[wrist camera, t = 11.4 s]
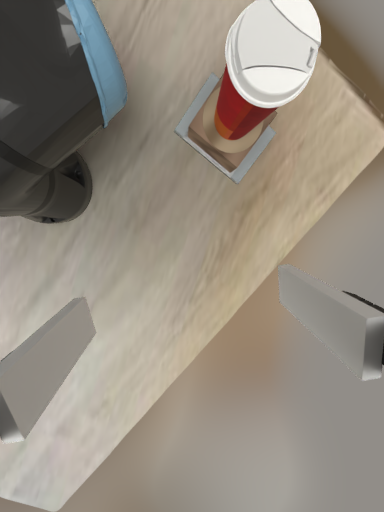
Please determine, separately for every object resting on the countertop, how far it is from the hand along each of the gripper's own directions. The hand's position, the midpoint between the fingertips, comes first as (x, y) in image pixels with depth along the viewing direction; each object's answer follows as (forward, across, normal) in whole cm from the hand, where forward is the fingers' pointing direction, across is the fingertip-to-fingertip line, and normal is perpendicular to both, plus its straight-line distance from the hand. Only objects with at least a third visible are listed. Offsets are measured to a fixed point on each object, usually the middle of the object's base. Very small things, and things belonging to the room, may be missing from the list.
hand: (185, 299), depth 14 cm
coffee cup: (+23, +11, +18) cm, 31 cm away
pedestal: (+28, +11, +18) cm, 35 cm away
